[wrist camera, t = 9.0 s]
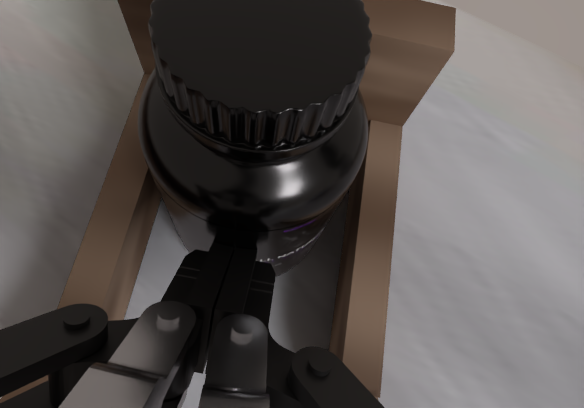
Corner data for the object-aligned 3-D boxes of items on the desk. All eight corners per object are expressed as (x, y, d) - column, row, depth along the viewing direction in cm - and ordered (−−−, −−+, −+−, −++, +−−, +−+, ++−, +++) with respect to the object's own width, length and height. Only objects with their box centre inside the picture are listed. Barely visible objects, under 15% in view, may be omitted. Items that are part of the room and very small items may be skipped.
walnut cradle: (384, 529, 16) (508, 689, 8) (-7, 463, 15) (-254, 571, 8) (413, 129, 22) (496, 17, 15) (139, 73, 22) (83, -74, 14)
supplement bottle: (278, 312, 18) (331, 234, 7) (149, 238, 19) (4, 54, 7) (344, 191, 21) (460, -11, 9) (228, 128, 21) (208, -130, 10)
